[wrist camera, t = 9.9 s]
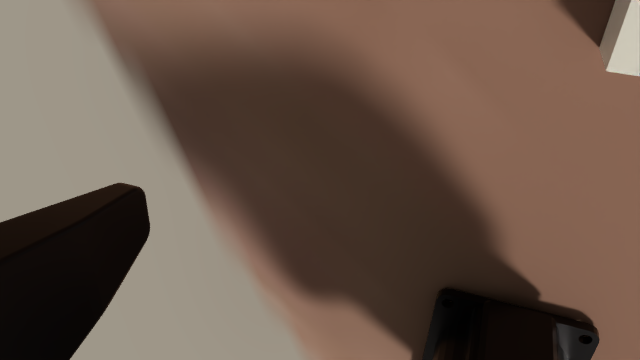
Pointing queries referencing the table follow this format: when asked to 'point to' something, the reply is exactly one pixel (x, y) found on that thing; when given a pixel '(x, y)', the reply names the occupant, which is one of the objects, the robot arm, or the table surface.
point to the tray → (622, 39)
